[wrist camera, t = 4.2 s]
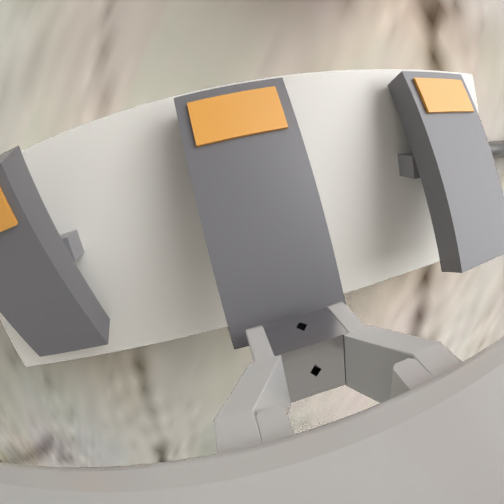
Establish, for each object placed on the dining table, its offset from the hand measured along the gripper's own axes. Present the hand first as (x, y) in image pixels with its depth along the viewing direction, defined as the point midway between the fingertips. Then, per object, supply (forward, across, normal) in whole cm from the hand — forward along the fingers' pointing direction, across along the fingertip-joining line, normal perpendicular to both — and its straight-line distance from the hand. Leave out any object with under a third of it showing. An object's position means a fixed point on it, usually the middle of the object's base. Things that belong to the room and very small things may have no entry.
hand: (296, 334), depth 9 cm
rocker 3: (+2, -9, -4) cm, 10 cm away
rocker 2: (+2, 0, -4) cm, 4 cm away
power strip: (+9, -5, -3) cm, 11 cm away
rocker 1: (+2, +9, -4) cm, 10 cm away
